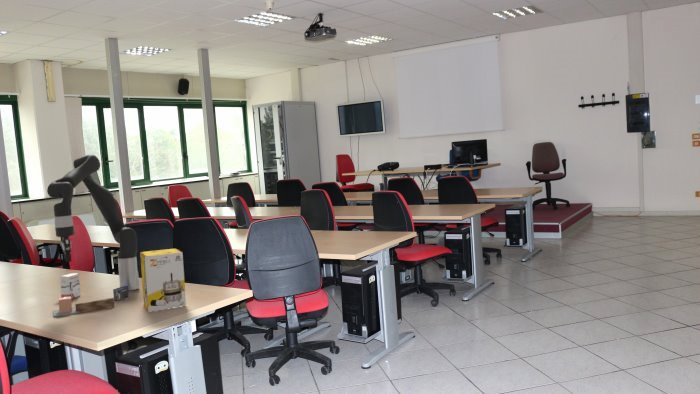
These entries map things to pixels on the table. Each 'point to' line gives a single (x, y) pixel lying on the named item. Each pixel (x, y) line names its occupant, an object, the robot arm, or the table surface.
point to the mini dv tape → (120, 293)
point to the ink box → (70, 285)
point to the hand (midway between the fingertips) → (68, 260)
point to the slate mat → (57, 313)
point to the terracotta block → (65, 304)
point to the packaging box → (163, 279)
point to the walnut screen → (94, 305)
